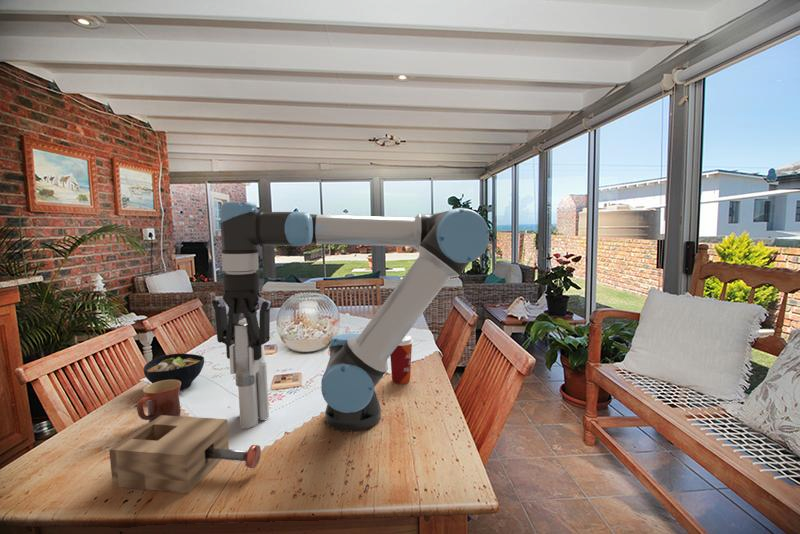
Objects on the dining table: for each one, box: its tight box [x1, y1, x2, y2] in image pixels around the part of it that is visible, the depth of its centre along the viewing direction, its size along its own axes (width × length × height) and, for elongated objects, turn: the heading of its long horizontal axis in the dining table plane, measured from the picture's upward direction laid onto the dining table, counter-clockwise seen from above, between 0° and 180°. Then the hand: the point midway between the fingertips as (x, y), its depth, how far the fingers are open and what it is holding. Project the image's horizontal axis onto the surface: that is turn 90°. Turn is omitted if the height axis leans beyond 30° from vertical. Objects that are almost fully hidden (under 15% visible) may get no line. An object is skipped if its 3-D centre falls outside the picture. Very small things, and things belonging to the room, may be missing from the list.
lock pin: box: [205, 444, 262, 469], centre depth 81 cm, size 14×4×4 cm, turn 83°
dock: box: [108, 415, 230, 494], centre depth 83 cm, size 17×14×8 cm
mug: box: [136, 380, 181, 424], centre depth 101 cm, size 12×9×10 cm
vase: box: [237, 344, 270, 429], centre depth 104 cm, size 11×7×20 cm, turn 19°
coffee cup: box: [389, 334, 414, 385], centre depth 128 cm, size 8×8×15 cm
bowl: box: [143, 353, 205, 392], centre depth 125 cm, size 17×17×10 cm
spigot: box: [234, 321, 255, 387], centre depth 87 cm, size 4×4×14 cm
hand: (244, 372), depth 88 cm, fingers closed on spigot, 4 cm apart
